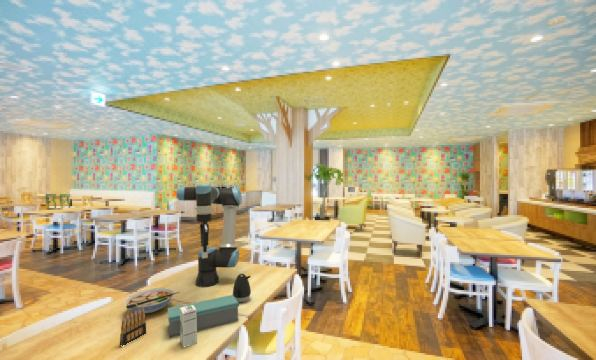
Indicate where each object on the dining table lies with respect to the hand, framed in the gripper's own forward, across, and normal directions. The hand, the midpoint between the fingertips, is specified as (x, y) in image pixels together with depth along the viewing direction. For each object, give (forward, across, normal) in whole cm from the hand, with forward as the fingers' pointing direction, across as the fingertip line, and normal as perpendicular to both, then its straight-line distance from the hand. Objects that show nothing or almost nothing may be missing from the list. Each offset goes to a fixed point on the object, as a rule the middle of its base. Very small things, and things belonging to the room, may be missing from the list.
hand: (204, 257), depth 142 cm
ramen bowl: (+28, -14, -26) cm, 40 cm away
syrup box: (+27, +27, -12) cm, 40 cm away
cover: (+21, +14, -3) cm, 25 cm away
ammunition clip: (+27, +13, -32) cm, 44 cm away
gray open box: (+28, +13, -3) cm, 31 cm away
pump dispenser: (+28, -1, +20) cm, 35 cm away
